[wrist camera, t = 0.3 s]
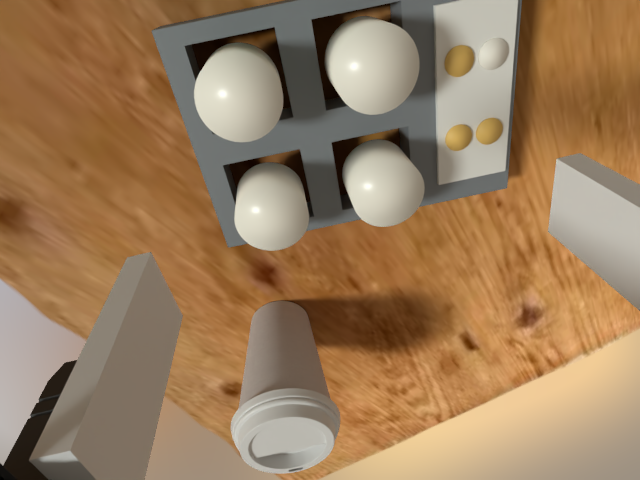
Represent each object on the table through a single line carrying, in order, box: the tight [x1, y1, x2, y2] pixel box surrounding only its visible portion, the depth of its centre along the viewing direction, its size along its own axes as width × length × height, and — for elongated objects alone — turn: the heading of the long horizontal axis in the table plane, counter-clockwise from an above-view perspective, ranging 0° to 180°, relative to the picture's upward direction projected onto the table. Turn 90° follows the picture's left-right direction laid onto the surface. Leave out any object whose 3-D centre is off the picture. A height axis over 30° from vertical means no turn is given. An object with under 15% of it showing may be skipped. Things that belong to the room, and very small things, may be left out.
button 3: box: [342, 139, 425, 227], centre depth 34 cm, size 6×6×4 cm
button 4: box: [325, 16, 420, 115], centre depth 29 cm, size 6×6×4 cm
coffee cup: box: [231, 301, 340, 473], centre depth 41 cm, size 10×10×15 cm
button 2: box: [194, 43, 283, 142], centre depth 29 cm, size 6×6×4 cm
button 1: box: [234, 162, 309, 251], centre depth 34 cm, size 6×6×4 cm
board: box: [152, 0, 522, 247], centre depth 34 cm, size 18×26×4 cm
